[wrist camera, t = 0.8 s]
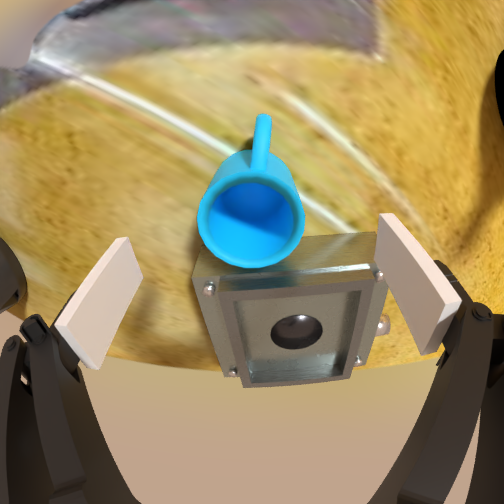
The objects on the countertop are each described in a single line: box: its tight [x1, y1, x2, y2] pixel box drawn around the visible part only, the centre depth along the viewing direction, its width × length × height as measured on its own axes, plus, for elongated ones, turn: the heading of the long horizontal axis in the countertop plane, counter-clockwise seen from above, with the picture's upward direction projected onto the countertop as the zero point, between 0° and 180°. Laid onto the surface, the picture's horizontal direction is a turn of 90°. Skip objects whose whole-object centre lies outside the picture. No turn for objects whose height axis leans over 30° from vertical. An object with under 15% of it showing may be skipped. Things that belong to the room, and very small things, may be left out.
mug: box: [197, 114, 305, 268], centre depth 23 cm, size 12×8×8 cm
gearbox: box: [191, 232, 390, 388], centre depth 32 cm, size 23×18×8 cm
